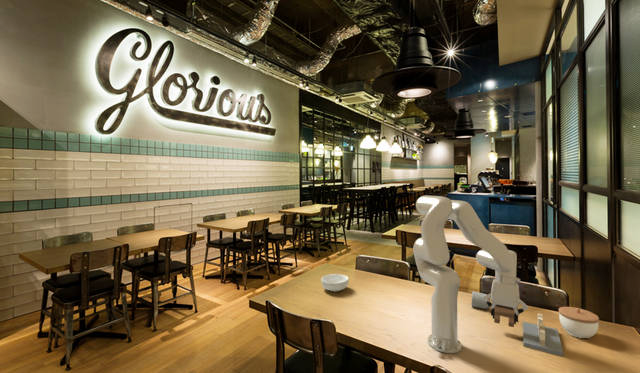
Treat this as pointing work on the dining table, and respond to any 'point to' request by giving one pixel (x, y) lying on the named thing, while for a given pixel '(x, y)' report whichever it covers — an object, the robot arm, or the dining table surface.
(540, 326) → the maple fin
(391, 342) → the dining table surface
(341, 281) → the cereal bowl
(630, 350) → the dining table surface
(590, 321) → the lidded bowl
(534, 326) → the slate board
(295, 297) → the dining table surface
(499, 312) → the walnut slotted block
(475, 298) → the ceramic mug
